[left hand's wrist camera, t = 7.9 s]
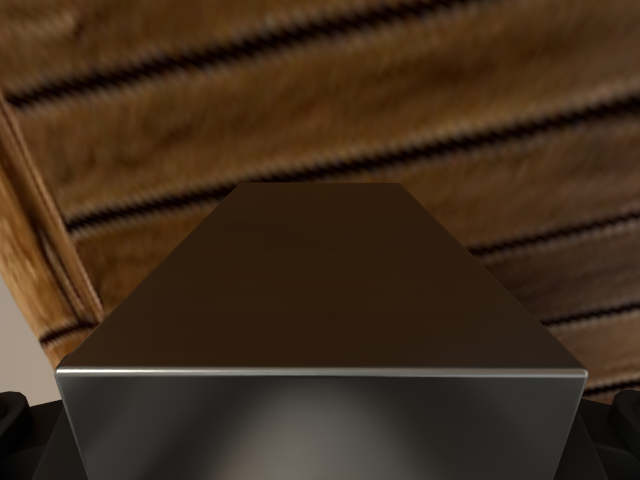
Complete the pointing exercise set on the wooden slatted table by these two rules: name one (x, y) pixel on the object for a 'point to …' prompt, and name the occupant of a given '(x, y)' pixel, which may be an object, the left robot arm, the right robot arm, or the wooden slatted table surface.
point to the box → (320, 353)
